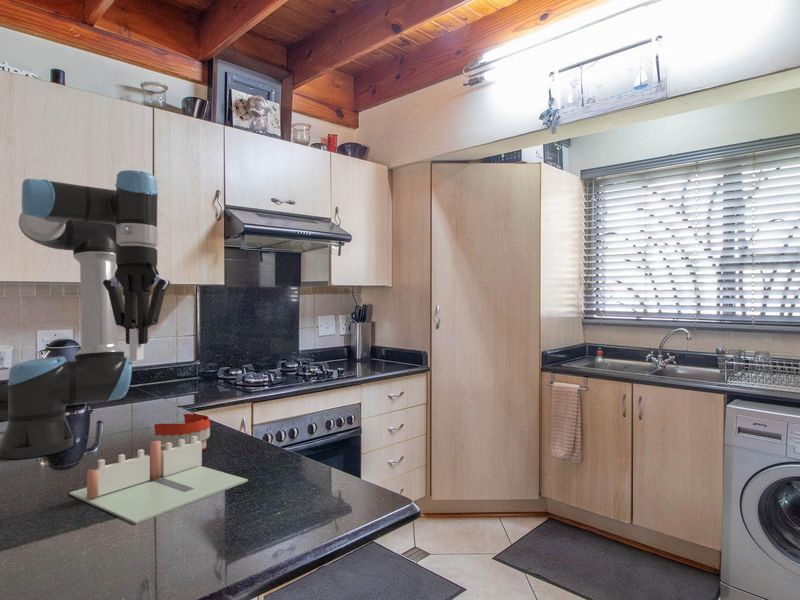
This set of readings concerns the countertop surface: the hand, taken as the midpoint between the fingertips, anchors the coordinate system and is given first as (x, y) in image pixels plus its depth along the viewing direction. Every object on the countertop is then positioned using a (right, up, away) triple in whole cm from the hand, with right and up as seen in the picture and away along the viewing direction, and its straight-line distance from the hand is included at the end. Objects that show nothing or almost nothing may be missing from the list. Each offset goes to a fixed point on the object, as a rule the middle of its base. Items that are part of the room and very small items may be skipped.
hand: (136, 359), depth 98 cm
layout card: (+7, -25, -3) cm, 26 cm away
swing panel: (-1, -25, -5) cm, 25 cm away
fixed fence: (+6, -25, +5) cm, 27 cm away
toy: (+1, -26, +21) cm, 34 cm away
